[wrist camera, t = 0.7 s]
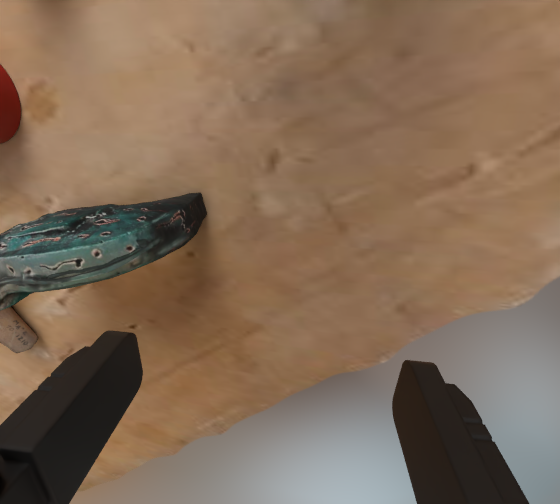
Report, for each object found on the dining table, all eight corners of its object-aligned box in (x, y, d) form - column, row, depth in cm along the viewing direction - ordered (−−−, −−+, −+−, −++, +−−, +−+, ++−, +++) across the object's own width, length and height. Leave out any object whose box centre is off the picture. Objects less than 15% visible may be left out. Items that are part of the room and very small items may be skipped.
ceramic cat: (73, 251, 40) (-124, 363, 22) (49, 203, 38) (-196, 283, 19) (217, 226, 37) (129, 331, 19) (201, 172, 35) (82, 231, 16)
